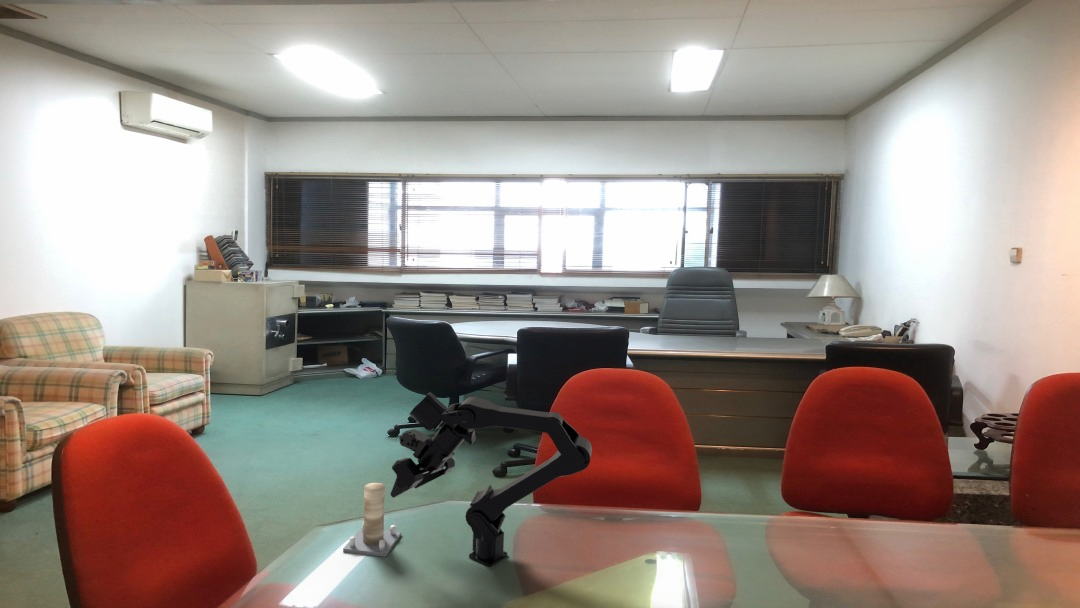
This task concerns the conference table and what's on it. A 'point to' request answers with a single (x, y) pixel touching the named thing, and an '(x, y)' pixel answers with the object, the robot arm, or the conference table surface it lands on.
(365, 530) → the birch post
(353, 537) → the peg plate
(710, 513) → the conference table surface
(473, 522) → the robot arm
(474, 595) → the conference table surface
